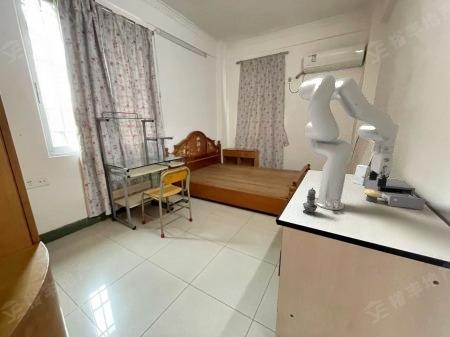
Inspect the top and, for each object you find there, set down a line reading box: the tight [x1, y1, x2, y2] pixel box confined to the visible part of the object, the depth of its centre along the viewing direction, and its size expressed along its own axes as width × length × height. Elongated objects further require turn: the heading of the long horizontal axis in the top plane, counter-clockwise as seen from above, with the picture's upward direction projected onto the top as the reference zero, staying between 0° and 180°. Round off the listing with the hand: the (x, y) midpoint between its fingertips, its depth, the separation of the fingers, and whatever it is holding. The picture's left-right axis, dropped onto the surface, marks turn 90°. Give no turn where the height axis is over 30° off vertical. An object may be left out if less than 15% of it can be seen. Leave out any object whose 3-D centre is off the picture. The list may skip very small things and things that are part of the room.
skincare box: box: [352, 164, 371, 186], centre depth 119 cm, size 6×4×12 cm
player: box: [364, 176, 416, 199], centre depth 104 cm, size 16×15×7 cm
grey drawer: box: [380, 191, 427, 210], centre depth 94 cm, size 16×13×5 cm
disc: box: [363, 188, 382, 197], centre depth 94 cm, size 7×7×2 cm
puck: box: [365, 195, 378, 203], centre depth 95 cm, size 4×4×4 cm
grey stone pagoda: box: [302, 187, 318, 217], centre depth 81 cm, size 6×6×12 cm
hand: (376, 183), depth 93 cm, fingers open, 9 cm apart
